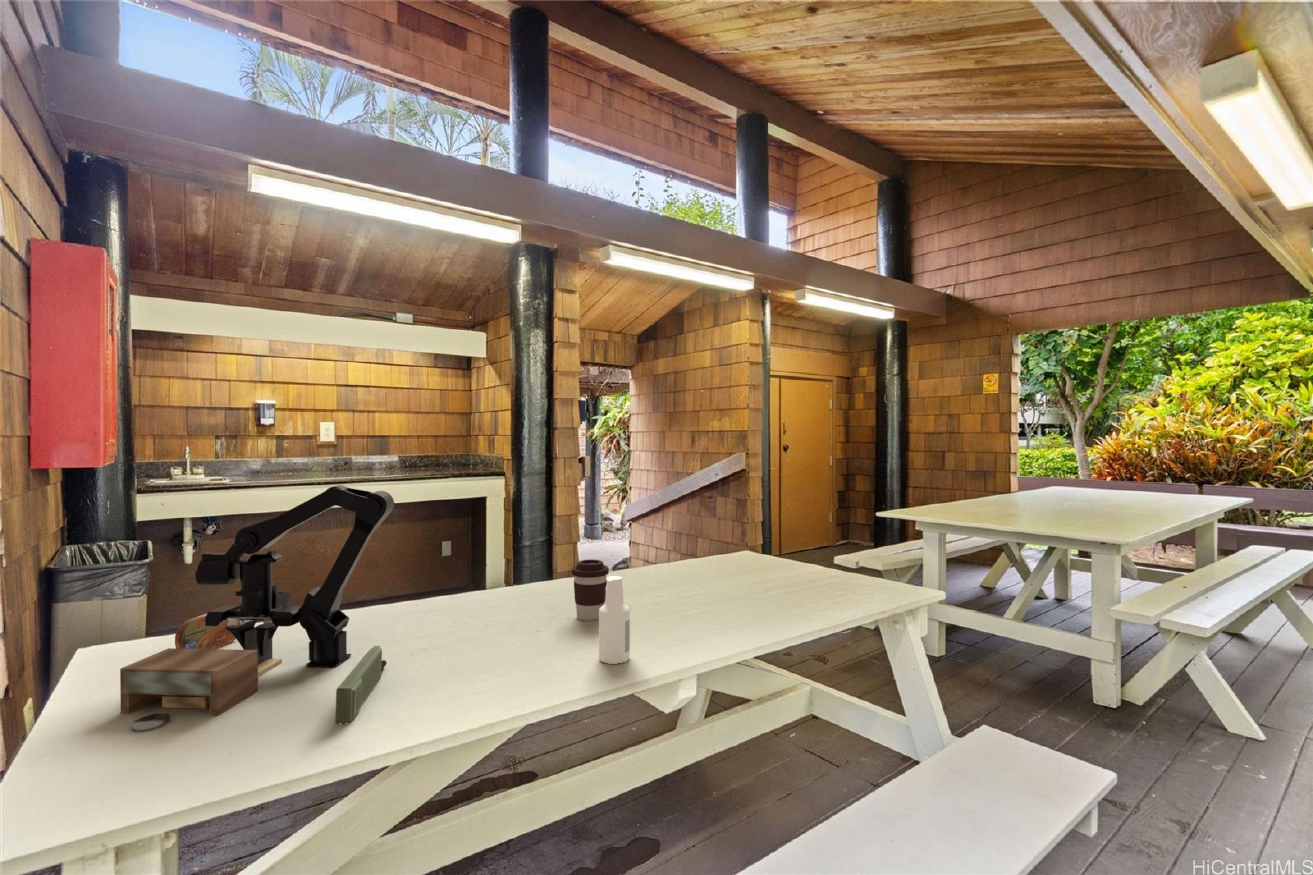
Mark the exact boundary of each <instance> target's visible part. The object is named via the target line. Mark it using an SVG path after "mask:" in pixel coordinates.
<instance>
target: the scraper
mask: <svg viewBox="0 0 1313 875" xmlns="http://www.w3.org/2000/svg"><path fill="white" fill-rule="evenodd" d="M262 625H263V623H261V624H258V625H257V626H256V625H255V626H254V628H252V629H250V630H248V631H245V650H258V677H260V676H262V675H263V674H265V673H267V672H268V671H270V670H272V669H274V668H275V667H276V666H278V665H280V664H282V662H283V659H282V658H273V639H272V640H271V643H270V646H269V648H268V651H267V654H266V655H265V656H261V654H260V651H259V644H258V637H257V631H256V628H257V627H260V626H262ZM208 707H210V705H209V696H193V695H164V696H162V697H161V708H162V709H166V708H167V709H207V708H208Z"/></svg>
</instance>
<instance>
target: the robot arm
mask: <svg viewBox="0 0 1313 875" xmlns="http://www.w3.org/2000/svg"><path fill="white" fill-rule="evenodd" d="M335 506H336V507H340V508H343V509H345V510H348V511H350V512H354V513H355V515H354V518H353V525H352V526H353V527H352V529H351V531H350V533H349V536H347V537H348V538H347V539H346V540H345V543H344V545H343V547H342V548H341V551H340V552H339V554H338V556H337V558H336V560H335V562H334V563H333V566H332V568H330V571H329V573H328V574H327V577H326V578H325V580H324V582H323V584H322V585H321V587H320V586H317V587H315V588H313V589H312V590H311V591H309V592H307V593H306V595H305V597H304V602H303V603H302V605H289V604H290V598H291V595H292V594H291V592H288V591H281V590H278V586H277V584H276V583H275V584H274V583H273V567H272V566H273V563H277V562H279V561H281V560H283V559H284V556H283V555H282V554H280V553H279V552H277V551H276V550H275V549H271V550H269V551H268V552H267V553H258V552H261V551H262V550H265V549H268V548H270V547H271V546H273V545H274V544H275V543H277V542H278V541H279V540H280V539H282V538H283V537H284V536H285V535H286V534H288V532H290V531H291V530H292V529H294V528H296V527H298V526H300V525H301V524H303V523H306V522H308V521H309V520H311V519H313V518H314V517H318V516H319V515H320V514H322V513H324V512H326V511H328V510H330V509H331V508H334V507H335ZM394 507H395V501H394V498H393V496H392V495H391V494H390V493H389V492H387V491H384V490H377V491H374V492H373V491H369V490H363V489H357V488H353V487H352V488H351V487H347V486H345V485H342V484H341V485H340V484H338V485H334V486H330V487H328V488H327V489H326V490H324V491H322V492H321V493H319V494H318V495H316V496H314V497H312V498H310V499H308V500H306V501H304V502H302V503H300V504H298V505H296V506H295V507H293V508H291V509H288V510H287V511H285V512H284V513H281V514H279V515H277V516H275V517H272V518H269V519H266V520H263V521H259V522H257V523H254V524H251V525H248V526H245V527H242V528H240V529H239V530H238V531H237V532H236V533H235V537H234V542H233V544H232V545H231V546H230V547H229V548H228V549H227V551H226V552H213V551H210V552H209V551H208V552H204V553H202V554H201V560H200V561H199V563H198V565H197V568H196V571H195V574H194V575H195V581H196V583H197V584H198V585H199V586H221V585H224V586H225V585H233V584H234V583H236V581H237V580H238V579H239V589H238V590H236V591H235V596H236V597H239V598H240V599H239V604H240V605H222V606H220V607H217V608H214V609H211V610H209V611H208V612H207V613H205V614H206V616H205V626H219V625H220V624H221V623H222V622H223V620H228V626H227V627H225V628H226V630H229V631H230V632H231V633H232V634H233V636H234V637H235V638H236V639H235V640H236V641H237V642H238V643H239V645H240V646H241V648H242V650H245V631H248V630H250V629H252V628H254V627H256V623H257V621H262V624H263V625H262V626H260V627H257V628H256V631H257V637H258V644H259V651H260V654H261V656H265V655H266V654H267V651H268V648H269V646H270V643H271V640H272V641H273V638H274V635H275V633H276V631H277V630H278V628H279V627H292V626H294V625H297V624H298V623H299V624H300V626H301V627H302V628H303V629H304V630H305V632H306V635H307V637H308V639H309V642H308V661H309V662H307V663H306V664H305V667H309V668H310V667H312V668H313V667H314V668H317V667H320V668H334V667H337V666H338V665H340V664H341V663H343V662H344V661H346V660H347V659H349V658H350V657H351V656H352V654H351V653H348V650H347V648H348V647H347V646H348V645H347V641H348V640H347V633H348V632H347V630H344V629H345V628H346V627H347V626H348V623H349V622H350V617H349V616H348V615H347V614H345V613H344V612H343V610H341V609H340V607H341V603H342V599H343V598H342V597H343V592H344V588H345V587H346V585H347V583H348V581H349V579H350V577H351V575H352V573H353V571H354V570H355V568H356V566H357V564H358V562H359V560H360V558H361V556H362V554H363V553H364V551H365V549H366V547H367V546H368V543H369V541H370V539H371V538H372V536H373V534H374V533H375V531H376V530H378V528H380V526H381V525H382V524H383V522H384V521H385V520H386V519H387V517H388V516H389V515H390V514H391V513H392V511H393V510H394ZM247 555H250V557H249V558H248V557H246V558H242V557H245V556H247ZM280 607H282V608H280ZM278 608H280V609H278ZM277 609H278V610H277Z"/></svg>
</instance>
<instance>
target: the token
mask: <svg viewBox="0 0 1313 875" xmlns="http://www.w3.org/2000/svg"><path fill="white" fill-rule="evenodd" d="M170 717H171V716H170V714H169V713H167V712H158V713H157V712H156V713H151V714H147V715H145V716H141V717H138V719H135V720H134V721H133V722H131V731H132V732H133V733H134V732H135V733H145V732H150V731H154V730H157V729H160V728H162V727H165V726H166V725H168V724H169V723H170V722H171V720H170V719H171V718H170Z"/></svg>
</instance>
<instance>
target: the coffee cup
mask: <svg viewBox="0 0 1313 875" xmlns="http://www.w3.org/2000/svg"><path fill="white" fill-rule="evenodd" d="M609 571H610V568H609V566H607V565H605V563H604V562H603V561H602V560H601V559H600V560H599V559H583V560H579V561H577V563H576V565H574V566H572V568H571V575H572V576H573V578H574V580H573V592H574V603H575V608H576V618H577V619H579V620H581V621H584V622H585V621H586V622H588V621H589V622H591V621H599V609H600V608H601V607H602V606H603V605H605V597H606V585H607V576H608V575H609V573H610V572H609Z"/></svg>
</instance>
